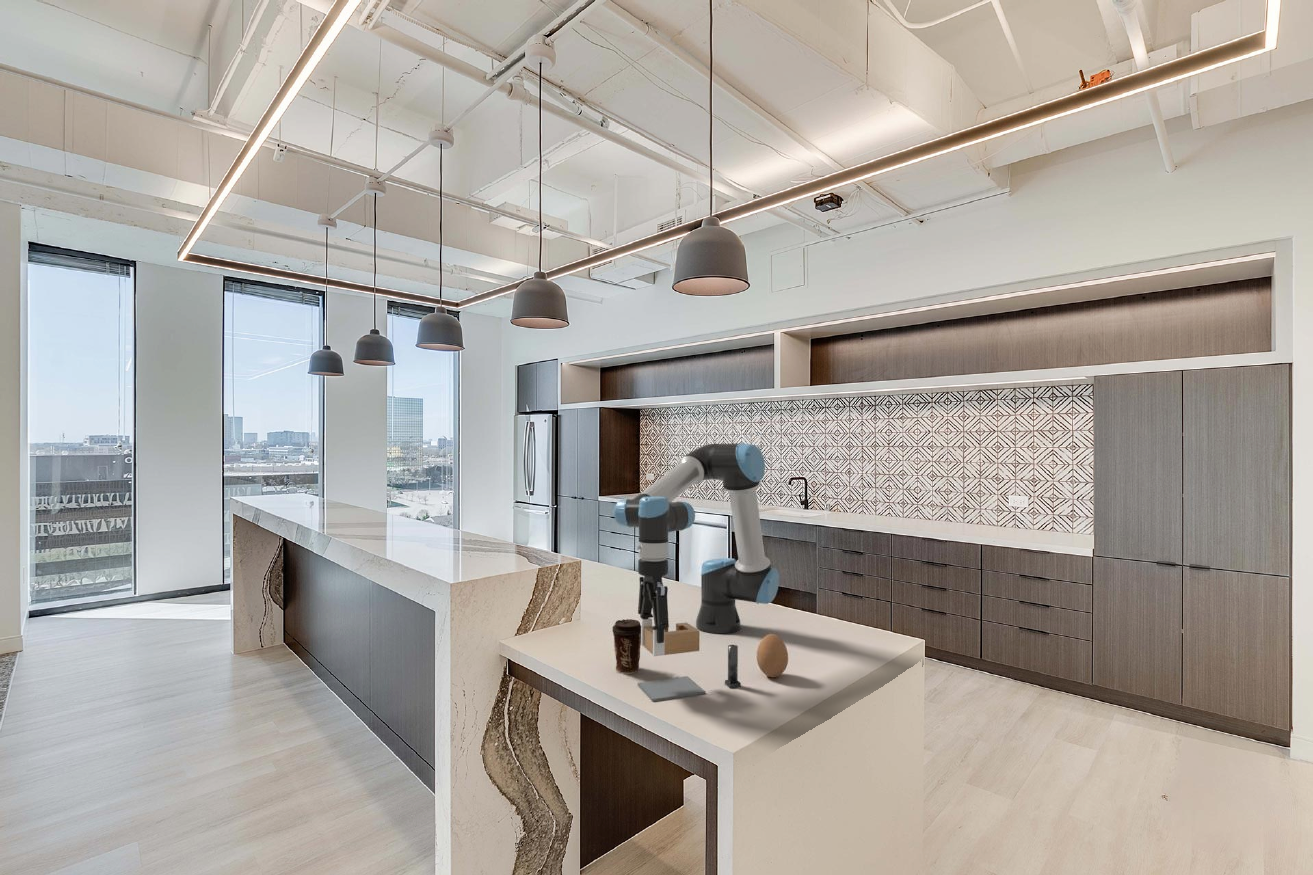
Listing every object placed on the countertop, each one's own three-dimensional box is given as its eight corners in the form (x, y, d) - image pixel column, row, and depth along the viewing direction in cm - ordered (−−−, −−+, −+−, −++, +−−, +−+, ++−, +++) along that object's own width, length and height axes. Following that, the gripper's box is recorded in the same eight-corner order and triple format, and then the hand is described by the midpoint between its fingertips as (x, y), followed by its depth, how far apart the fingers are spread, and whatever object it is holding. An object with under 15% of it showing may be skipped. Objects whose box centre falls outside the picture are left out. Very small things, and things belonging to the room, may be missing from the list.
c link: (686, 641, 161) (686, 622, 161) (699, 650, 153) (699, 630, 153) (643, 646, 156) (643, 626, 157) (654, 656, 149) (654, 635, 149)
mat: (687, 678, 162) (687, 675, 162) (705, 693, 152) (705, 691, 152) (637, 685, 157) (637, 682, 157) (652, 701, 147) (652, 699, 147)
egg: (753, 671, 168) (753, 629, 168) (783, 670, 169) (783, 629, 169) (760, 682, 160) (761, 639, 160) (791, 681, 160) (792, 638, 161)
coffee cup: (611, 664, 172) (612, 618, 173) (641, 663, 173) (641, 617, 173) (612, 675, 164) (612, 626, 164) (643, 675, 164) (643, 626, 165)
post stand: (735, 682, 160) (735, 643, 160) (740, 686, 157) (740, 647, 157) (724, 683, 158) (725, 645, 159) (730, 688, 156) (730, 648, 156)
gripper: (626, 552, 162) (625, 639, 161) (653, 566, 143) (653, 665, 142) (652, 551, 165) (651, 636, 164) (683, 564, 145) (682, 661, 145)
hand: (652, 649), depth 153 cm, fingers closed on c link, 8 cm apart
